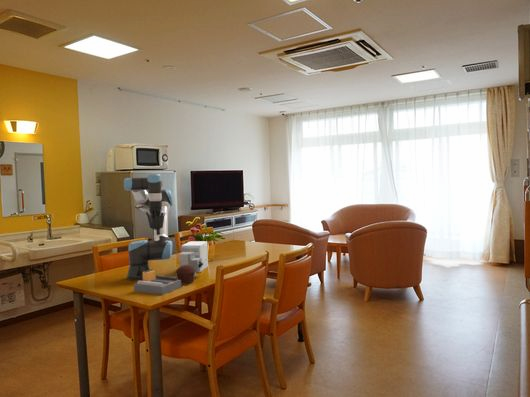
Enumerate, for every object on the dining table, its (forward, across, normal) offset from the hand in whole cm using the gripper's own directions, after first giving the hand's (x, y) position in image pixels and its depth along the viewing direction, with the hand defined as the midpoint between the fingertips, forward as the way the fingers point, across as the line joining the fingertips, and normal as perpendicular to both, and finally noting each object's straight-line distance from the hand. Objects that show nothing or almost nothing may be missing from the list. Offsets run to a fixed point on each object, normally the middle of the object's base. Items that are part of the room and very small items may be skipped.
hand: (156, 240), depth 237 cm
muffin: (+26, +14, +8) cm, 31 cm away
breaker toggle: (+21, +2, -10) cm, 23 cm away
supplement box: (+27, -1, +39) cm, 47 cm away
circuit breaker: (+26, +9, +21) cm, 35 cm away
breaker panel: (+26, +8, -10) cm, 29 cm away
